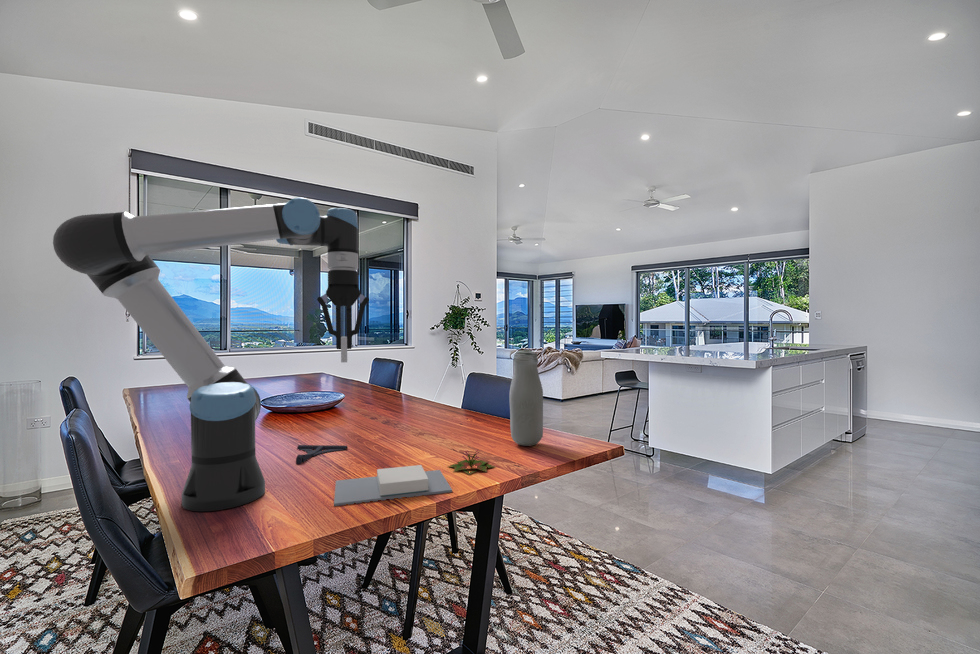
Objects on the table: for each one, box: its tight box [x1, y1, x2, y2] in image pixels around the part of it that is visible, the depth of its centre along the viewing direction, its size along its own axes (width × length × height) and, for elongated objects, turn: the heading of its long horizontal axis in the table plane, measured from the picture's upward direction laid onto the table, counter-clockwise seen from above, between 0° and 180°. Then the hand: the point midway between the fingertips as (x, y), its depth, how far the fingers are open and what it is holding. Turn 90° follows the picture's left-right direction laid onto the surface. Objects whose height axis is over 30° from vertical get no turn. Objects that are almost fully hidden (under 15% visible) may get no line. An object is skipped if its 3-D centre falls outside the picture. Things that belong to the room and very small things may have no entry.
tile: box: [376, 464, 428, 496], centre depth 101 cm, size 10×3×10 cm
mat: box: [333, 469, 453, 507], centre depth 102 cm, size 24×14×1 cm, turn 107°
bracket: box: [295, 444, 349, 465], centre depth 127 cm, size 14×15×3 cm
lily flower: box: [447, 449, 496, 475], centre depth 115 cm, size 12×12×5 cm
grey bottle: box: [508, 349, 544, 447], centre depth 136 cm, size 10×10×28 cm
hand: (344, 361), depth 119 cm, fingers closed
